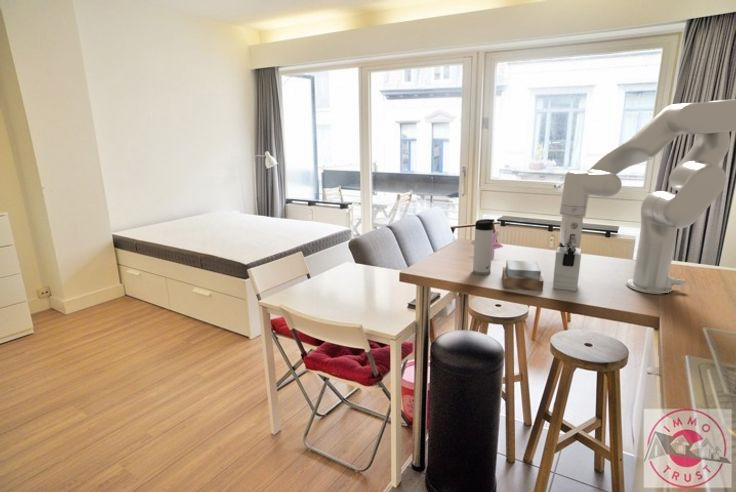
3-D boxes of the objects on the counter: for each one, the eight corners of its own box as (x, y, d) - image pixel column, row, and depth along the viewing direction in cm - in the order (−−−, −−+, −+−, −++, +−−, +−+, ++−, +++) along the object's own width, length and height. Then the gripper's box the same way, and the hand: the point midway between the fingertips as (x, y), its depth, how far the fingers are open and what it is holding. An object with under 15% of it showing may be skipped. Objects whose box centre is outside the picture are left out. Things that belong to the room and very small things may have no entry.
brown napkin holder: (537, 278, 151) (539, 261, 149) (542, 291, 139) (544, 272, 138) (502, 276, 153) (503, 259, 152) (504, 288, 142) (505, 270, 141)
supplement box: (578, 284, 145) (582, 248, 141) (576, 291, 138) (581, 254, 135) (554, 280, 148) (558, 245, 145) (551, 288, 142) (555, 251, 138)
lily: (467, 254, 184) (466, 238, 177) (488, 240, 187) (487, 224, 180) (488, 269, 176) (487, 253, 169) (509, 254, 179) (509, 238, 172)
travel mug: (491, 275, 154) (495, 221, 149) (473, 274, 156) (475, 221, 150) (490, 270, 160) (494, 217, 155) (472, 269, 162) (475, 217, 156)
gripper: (592, 216, 127) (583, 271, 132) (579, 206, 143) (571, 255, 148) (565, 214, 129) (557, 268, 134) (555, 204, 145) (548, 253, 150)
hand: (564, 261), depth 141 cm, fingers open, 9 cm apart
